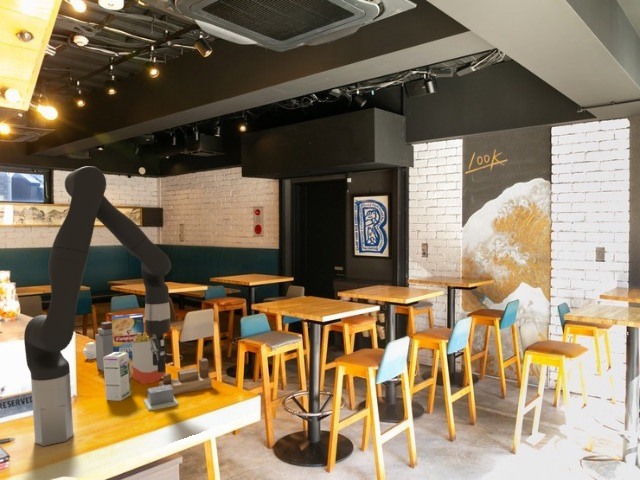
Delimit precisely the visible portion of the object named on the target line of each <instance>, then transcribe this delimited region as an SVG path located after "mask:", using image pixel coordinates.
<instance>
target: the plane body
mask: <svg viewBox="0 0 640 480" xmlns="http://www.w3.org/2000/svg"><path fill="white" fill-rule="evenodd" d="M198 368H199V370H198V369H197V368H196V367H193V368H188V369H182V370H177V378H173V379H172V373H169V372H168V373H167V372H166V374H163V377H162V380H161V381H160V380H159V381H158V382H159V383H158V384H159V385H158V387H159V386H165V385H171V387H172V388H173V394H175V395H179V393H180V394H183V393H184V394H185V393H190V392H195V391H200V390H205V389H210V388H212V386H213V385H212V378H211V377H210V375H209V373H210V372H209V359H207V358H205V357H202V358H199V359H198Z"/></svg>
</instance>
